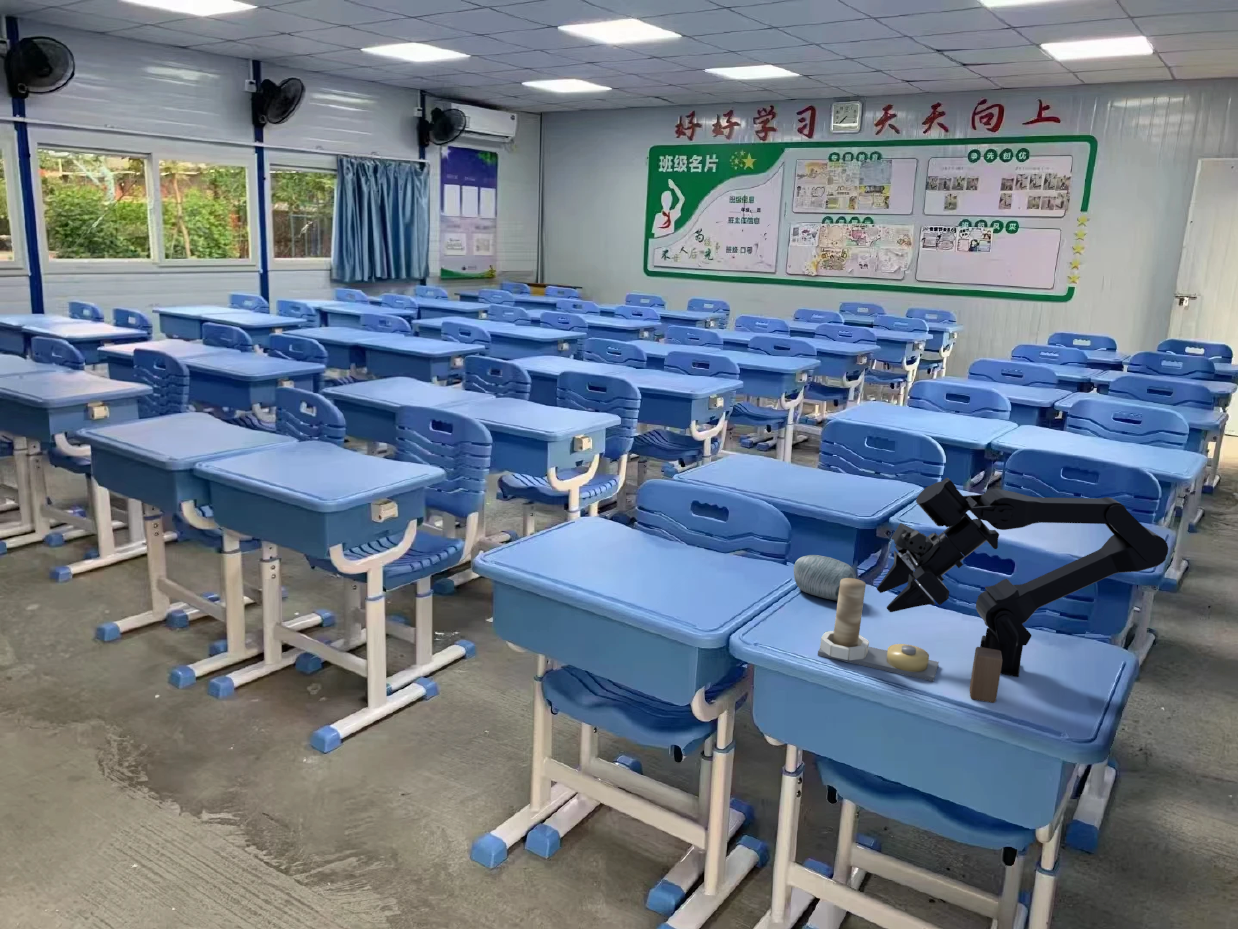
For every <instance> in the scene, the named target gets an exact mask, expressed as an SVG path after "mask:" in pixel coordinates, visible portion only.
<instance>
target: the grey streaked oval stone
mask: <svg viewBox="0 0 1238 929" xmlns="http://www.w3.org/2000/svg"><path fill="white" fill-rule="evenodd" d="M793 578H794V581H795V584H796V586H797V588H798V589H800V590H801V591H802V592H805V593H806V594H809V595H812V596H814V597H815V596H816V597H818V598H822V599H827V600H831V601H836V602H838V595H839V588H840V580H841V579H844V578H854V579H857V575H856V573H855V570H854V568H853V567H852V566H850V564H848V563H846V562H844V561H841V560H839V559H836V558H833V557H830V556H823V555H821V554H820V555H818V554H808V555H804V556H801V557H799V558H797V560H796V561H795V563H794V565H793Z"/></svg>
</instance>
